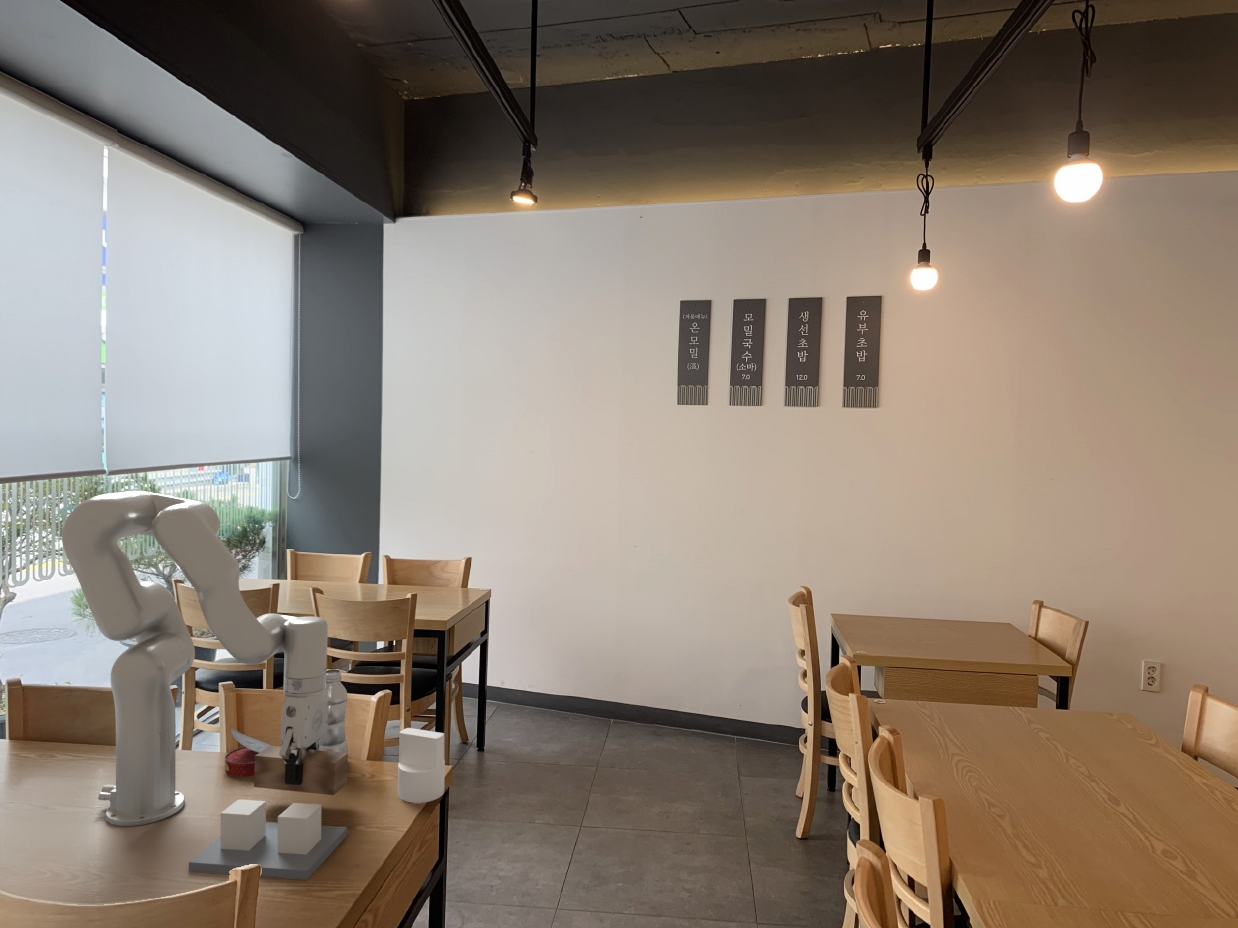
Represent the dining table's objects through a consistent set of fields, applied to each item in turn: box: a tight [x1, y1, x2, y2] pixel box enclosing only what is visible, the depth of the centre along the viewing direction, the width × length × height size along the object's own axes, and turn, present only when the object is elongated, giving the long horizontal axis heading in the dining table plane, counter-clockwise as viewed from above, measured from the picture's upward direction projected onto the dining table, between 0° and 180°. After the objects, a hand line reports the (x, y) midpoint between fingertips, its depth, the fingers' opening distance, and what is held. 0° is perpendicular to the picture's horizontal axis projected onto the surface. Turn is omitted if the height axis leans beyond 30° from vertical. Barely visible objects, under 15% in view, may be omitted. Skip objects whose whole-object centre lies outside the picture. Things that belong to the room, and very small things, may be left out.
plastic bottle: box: [318, 668, 349, 753], centre depth 166 cm, size 6×7×20 cm
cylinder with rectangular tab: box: [397, 727, 446, 804], centre depth 153 cm, size 9×9×12 cm
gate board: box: [188, 799, 348, 881], centre depth 129 cm, size 20×14×8 cm
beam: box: [253, 745, 349, 796], centre depth 147 cm, size 16×5×6 cm, turn 83°
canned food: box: [224, 728, 271, 778], centre depth 164 cm, size 11×10×10 cm
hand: (301, 776), depth 147 cm, fingers closed on beam, 5 cm apart
